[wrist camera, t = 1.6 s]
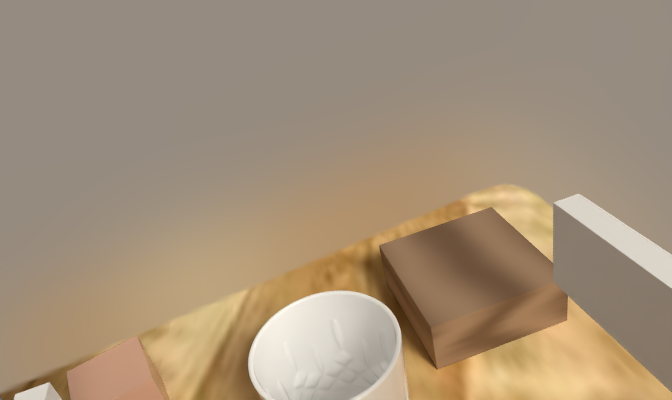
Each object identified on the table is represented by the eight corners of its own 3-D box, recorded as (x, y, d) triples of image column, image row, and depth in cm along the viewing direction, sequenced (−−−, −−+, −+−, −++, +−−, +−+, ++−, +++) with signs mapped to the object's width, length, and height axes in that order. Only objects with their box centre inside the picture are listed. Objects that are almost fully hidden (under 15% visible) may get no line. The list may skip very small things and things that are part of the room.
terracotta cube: (108, 469, 35) (73, 422, 32) (97, 417, 39) (66, 371, 36) (180, 426, 36) (152, 378, 34) (162, 381, 40) (137, 335, 38)
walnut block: (437, 369, 36) (430, 327, 34) (386, 282, 44) (379, 245, 42) (566, 320, 37) (568, 277, 35) (493, 245, 46) (491, 207, 44)
